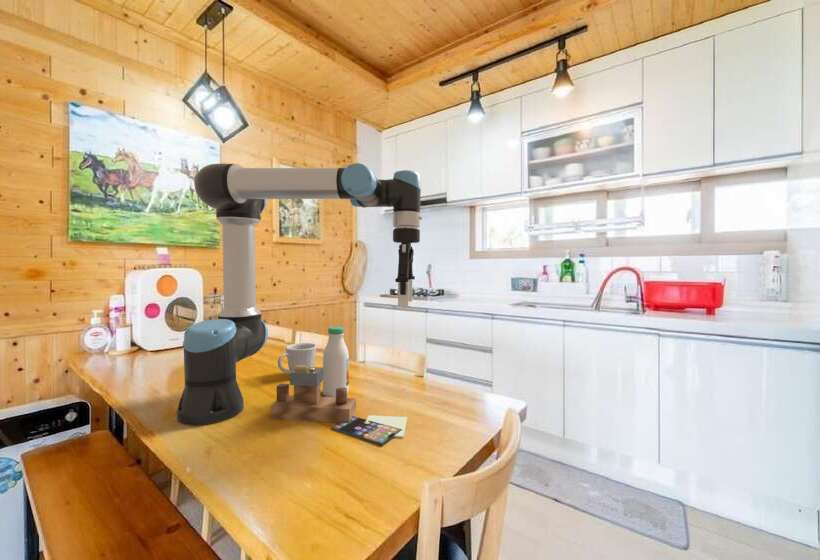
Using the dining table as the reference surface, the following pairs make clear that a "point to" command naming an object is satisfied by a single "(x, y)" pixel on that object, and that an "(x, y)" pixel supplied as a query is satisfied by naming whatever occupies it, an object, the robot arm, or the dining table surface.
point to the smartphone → (367, 430)
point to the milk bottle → (335, 363)
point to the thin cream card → (391, 422)
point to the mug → (298, 356)
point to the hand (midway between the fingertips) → (405, 304)
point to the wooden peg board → (312, 405)
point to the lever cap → (306, 375)
